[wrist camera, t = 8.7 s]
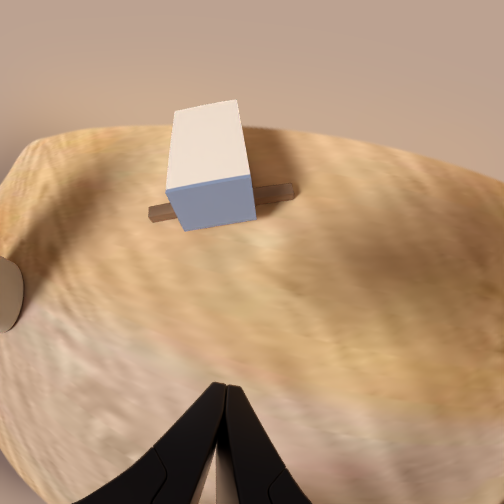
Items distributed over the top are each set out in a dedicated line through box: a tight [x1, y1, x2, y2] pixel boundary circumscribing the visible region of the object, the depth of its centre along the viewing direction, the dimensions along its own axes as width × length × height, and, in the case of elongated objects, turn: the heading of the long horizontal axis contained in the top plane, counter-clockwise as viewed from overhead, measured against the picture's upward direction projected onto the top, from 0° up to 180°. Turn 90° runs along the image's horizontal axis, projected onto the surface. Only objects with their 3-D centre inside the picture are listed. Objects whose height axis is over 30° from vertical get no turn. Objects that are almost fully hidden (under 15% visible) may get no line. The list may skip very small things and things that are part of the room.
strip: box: [148, 183, 294, 223], centre depth 24 cm, size 1×12×1 cm, turn 98°
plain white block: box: [166, 100, 257, 231], centre depth 22 cm, size 4×6×10 cm
